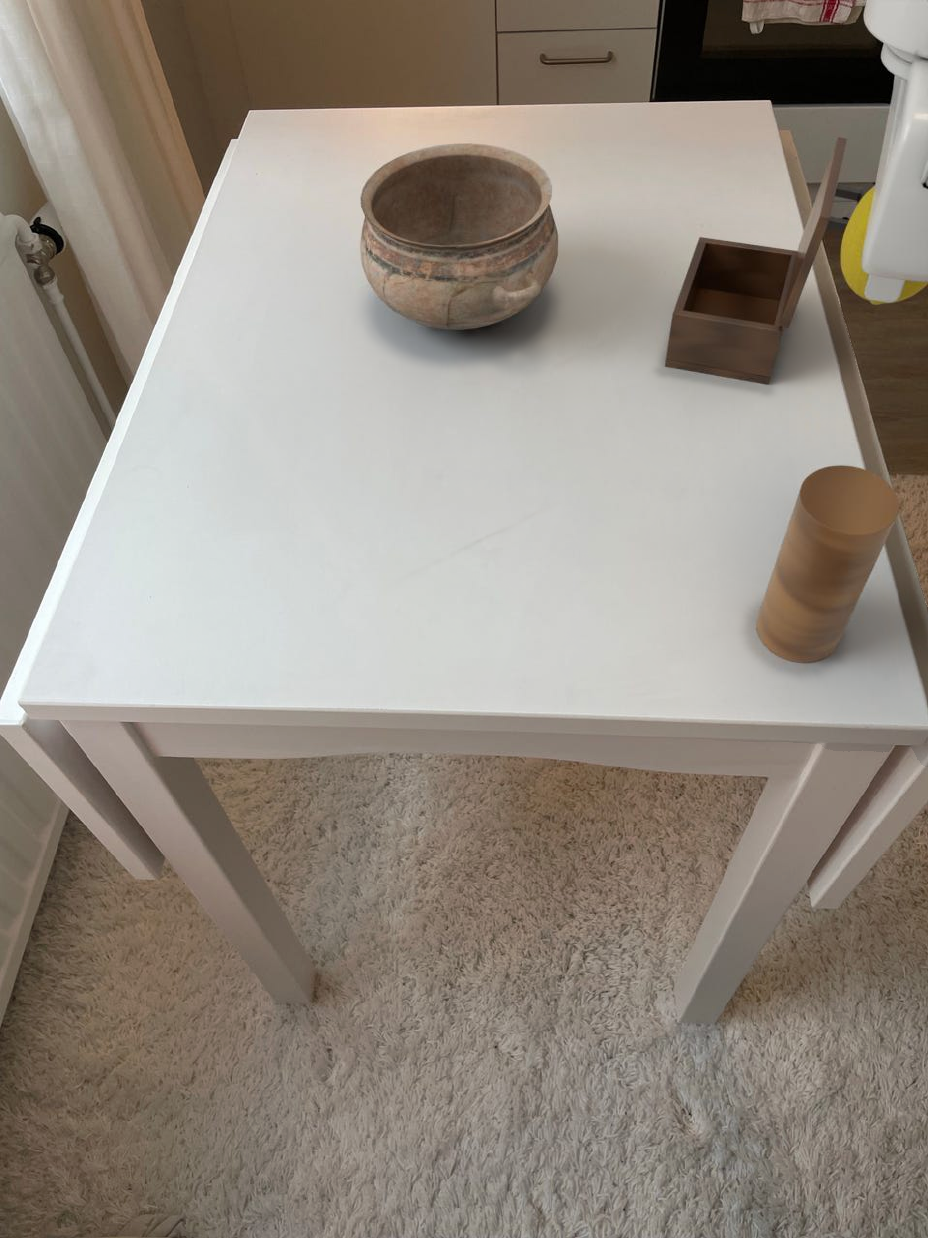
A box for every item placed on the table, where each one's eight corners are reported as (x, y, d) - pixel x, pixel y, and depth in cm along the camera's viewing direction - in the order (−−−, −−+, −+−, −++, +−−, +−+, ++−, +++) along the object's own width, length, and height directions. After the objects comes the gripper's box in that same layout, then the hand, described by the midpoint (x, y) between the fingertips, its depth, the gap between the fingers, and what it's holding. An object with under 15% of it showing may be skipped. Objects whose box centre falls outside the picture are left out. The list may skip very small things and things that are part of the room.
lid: (819, 215, 74) (882, 229, 73) (838, 136, 81) (895, 147, 80) (778, 326, 82) (834, 339, 82) (798, 245, 89) (850, 257, 89)
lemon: (929, 282, 57) (977, 151, 51) (920, 339, 54) (970, 208, 48) (833, 268, 58) (868, 139, 52) (819, 323, 56) (855, 194, 49)
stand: (843, 608, 72) (903, 475, 61) (834, 671, 69) (895, 543, 57) (762, 590, 73) (806, 457, 62) (750, 651, 70) (793, 522, 59)
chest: (664, 366, 90) (672, 313, 85) (691, 288, 97) (699, 236, 92) (768, 384, 87) (782, 331, 83) (787, 303, 94) (801, 250, 90)
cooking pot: (325, 278, 101) (304, 166, 91) (478, 220, 106) (473, 108, 96) (444, 411, 87) (434, 295, 78) (612, 337, 92) (622, 220, 83)
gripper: (1052, 94, 36) (934, 383, 47) (1050, -95, 48) (955, 174, 59) (879, 79, 38) (803, 362, 49) (917, -100, 49) (848, 163, 60)
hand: (886, 258), depth 54 cm, fingers closed on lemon, 5 cm apart
